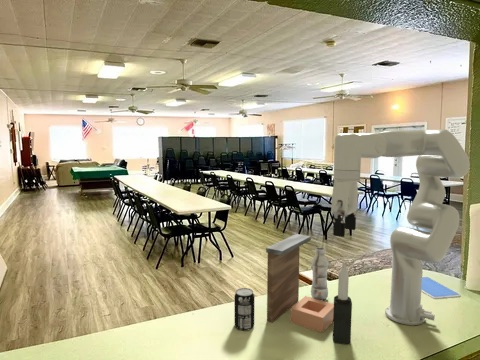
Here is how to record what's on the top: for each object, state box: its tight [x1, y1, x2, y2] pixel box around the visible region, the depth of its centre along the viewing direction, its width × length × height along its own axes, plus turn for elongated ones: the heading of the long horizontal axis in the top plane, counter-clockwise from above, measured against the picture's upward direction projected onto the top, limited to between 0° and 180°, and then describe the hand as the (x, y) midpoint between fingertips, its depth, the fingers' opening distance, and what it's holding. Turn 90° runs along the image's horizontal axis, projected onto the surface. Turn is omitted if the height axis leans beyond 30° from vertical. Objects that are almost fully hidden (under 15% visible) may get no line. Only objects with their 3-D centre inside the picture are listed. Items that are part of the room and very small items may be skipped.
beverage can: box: [234, 287, 255, 331], centre depth 117 cm, size 7×7×12 cm
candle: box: [332, 261, 353, 346], centre depth 108 cm, size 5×5×25 cm
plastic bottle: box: [310, 246, 330, 301], centre depth 137 cm, size 6×7×20 cm
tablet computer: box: [421, 276, 461, 300], centre depth 148 cm, size 19×13×1 cm, turn 11°
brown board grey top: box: [265, 233, 312, 324], centre depth 125 cm, size 6×22×26 cm, turn 145°
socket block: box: [290, 295, 334, 334], centre depth 121 cm, size 12×12×5 cm
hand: (344, 232), depth 106 cm, fingers open, 9 cm apart
